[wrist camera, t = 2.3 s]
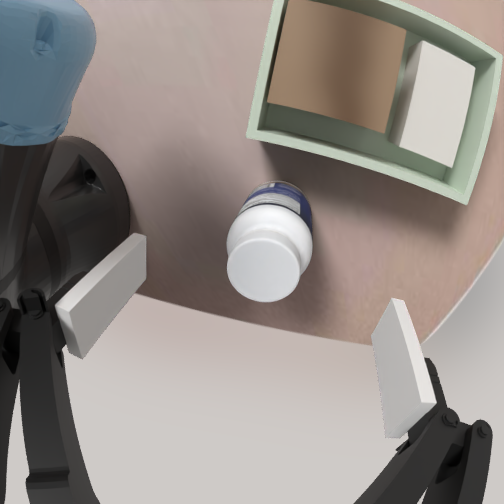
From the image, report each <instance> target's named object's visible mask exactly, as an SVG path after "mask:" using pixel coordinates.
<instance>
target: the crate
mask: <svg viewBox="0 0 504 504" xmlns="http://www.w3.org/2000/svg"><path fill="white" fill-rule="evenodd" d="M288 1H289V0H274V3H273V7H272V11H271V16H270V20H269V25H268V29H267V34H266V39H265V43H264V48H263V53H262V57H261V62H260V67H259V72H258V77H257V82H256V87H255V92H254V97H253V102H252V107H251V112H250V117H249V122H248V127H247V133H246V138H250V139H255V140H260V141H265V142H269V143H274V144H278V145H283V146H287V147H291V148H296V149H300V150H304V151H308V152H312V153H315V154H319V155H323V156H327V157H330V158H334V159H337V160H341V161H344V162H348V163H351V164H355V165H358V166H361V167H364V168H368V169H371V170H374V171H377V172H380V173H383V174H386V175H389V176H392V177H395V178H398V179H401V180H403V181H406V182H409V183H412V184H415V185H417V186H420V187H423V188H425V189H428V190H430V191H433V192H436V193H438V194H441V195H443V196H446V197H448V198H451V199H453V200H455V201H458V202H460V203H462V204H465V205H467V204H468V201H469V198H470V196H471V193H472V190H473V187H474V184H475V181H476V178H477V175H478V172H479V169H480V166H481V162H482V159H483V156H484V152H485V148H486V145H487V141H488V137H489V133H490V129H491V125H492V120H493V116H494V111H495V106H496V101H497V95H498V90H499V83H500V76H501V69H502V60H503V55H501V54H500V53H498V52H497V51H495V50H494V49H492V48H491V47H489V46H488V45H486V44H485V43H483V42H481V41H480V40H478V39H477V38H475V37H473V36H472V35H470V34H468V33H466V32H465V31H463V30H461V29H459V28H457V27H456V26H454V25H452V24H450V23H448V22H446V21H444V20H442V19H440V18H438V17H436V16H434V15H432V14H430V13H428V12H425V11H423V10H421V9H419V8H416V7H414V6H412V5H409V4H407V3H404V2H402V1H399V0H309V1H313V2H318V3H323V4H327V5H331V6H335V7H339V8H343V9H347V10H350V11H354V12H357V13H360V14H364V15H367V16H370V17H373V18H376V19H379V20H382V21H385V22H387V23H390V24H393V25H396V26H398V27H401V28H403V29H406V36H405V42H404V48H403V53H402V59H401V64H400V69H399V74H398V78H397V83H396V88H395V92H394V96H393V101H392V105H391V109H390V113H389V117H388V121H387V125H386V129H385V133H384V134H383V133H380V132H377V131H374V130H371V129H368V128H365V127H362V126H359V125H356V124H353V123H349V122H346V121H342V120H339V119H335V118H332V117H328V116H324V115H321V114H317V113H313V112H309V111H305V110H301V109H296V108H292V107H287V106H283V105H278V104H273V103H268V102H267V99H268V94H269V89H270V85H271V80H272V75H273V70H274V66H275V61H276V56H277V51H278V47H279V42H280V37H281V33H282V28H283V23H284V19H285V14H286V10H287V5H288ZM422 40H423V41H426V42H428V43H430V44H432V45H434V46H436V47H438V48H440V49H442V50H444V51H446V52H448V53H450V54H452V55H454V56H456V57H458V58H460V59H461V60H463V61H465V62H467V63H469V64H470V65H472V66H474V67H475V74H474V80H473V85H472V91H471V96H470V101H469V105H468V110H467V114H466V119H465V123H464V127H463V131H462V135H461V139H460V142H459V146H458V149H457V153H456V156H455V160H454V163H453V166H452V168H451V167H448V166H446V165H444V164H442V163H439V162H437V161H435V160H432V159H430V158H427V157H425V156H422V155H420V154H417V153H415V152H412V151H410V150H407V149H404V148H402V147H399V146H397V145H395V144H393V143H391V142H389V141H388V138H389V134H390V131H391V127H392V123H393V119H394V115H395V111H396V107H397V103H398V98H399V94H400V90H401V85H402V80H403V76H404V71H405V66H406V61H407V55H408V50H409V47H410V46H412V45H414V44H416V43H418V42H420V41H422Z"/></svg>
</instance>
